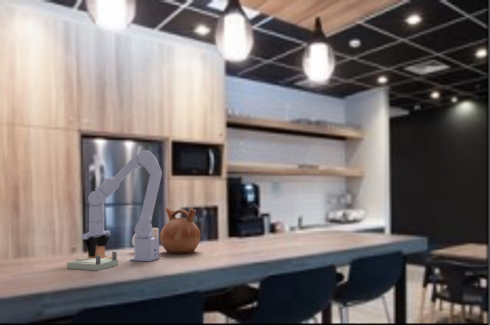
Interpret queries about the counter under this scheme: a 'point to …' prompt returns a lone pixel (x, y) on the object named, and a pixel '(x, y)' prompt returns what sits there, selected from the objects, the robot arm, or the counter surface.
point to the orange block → (99, 252)
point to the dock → (94, 263)
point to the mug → (153, 232)
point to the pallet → (101, 258)
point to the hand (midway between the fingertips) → (96, 255)
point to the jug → (180, 233)
